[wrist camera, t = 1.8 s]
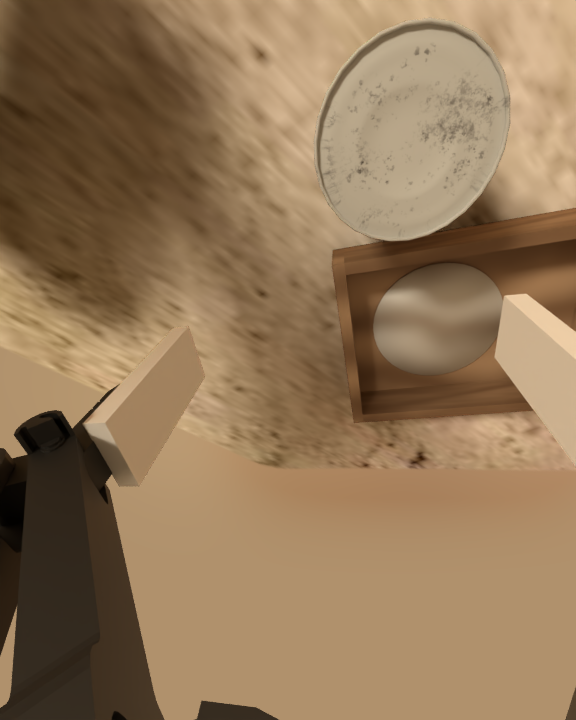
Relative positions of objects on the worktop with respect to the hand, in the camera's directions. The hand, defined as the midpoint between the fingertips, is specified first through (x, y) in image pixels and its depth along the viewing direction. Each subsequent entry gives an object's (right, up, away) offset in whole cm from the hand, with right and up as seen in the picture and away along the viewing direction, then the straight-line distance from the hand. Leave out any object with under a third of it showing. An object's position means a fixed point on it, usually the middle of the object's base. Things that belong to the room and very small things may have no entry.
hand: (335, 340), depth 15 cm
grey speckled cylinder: (+6, +17, +13) cm, 22 cm away
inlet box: (+15, +4, +20) cm, 25 cm away
